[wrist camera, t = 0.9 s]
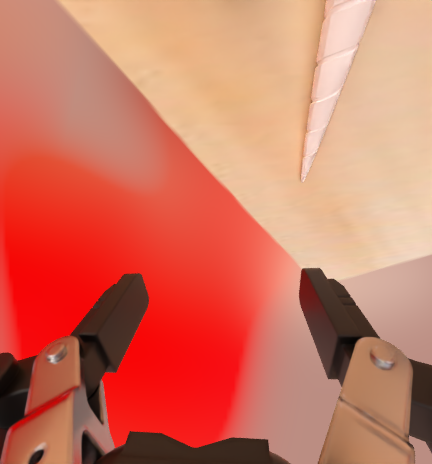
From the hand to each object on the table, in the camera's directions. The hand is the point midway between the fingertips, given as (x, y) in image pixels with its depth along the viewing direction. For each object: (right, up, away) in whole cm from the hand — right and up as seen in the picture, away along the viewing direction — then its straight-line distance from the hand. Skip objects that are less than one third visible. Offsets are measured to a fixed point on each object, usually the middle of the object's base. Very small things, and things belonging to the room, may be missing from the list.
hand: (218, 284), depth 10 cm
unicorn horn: (+13, +21, +15) cm, 29 cm away
